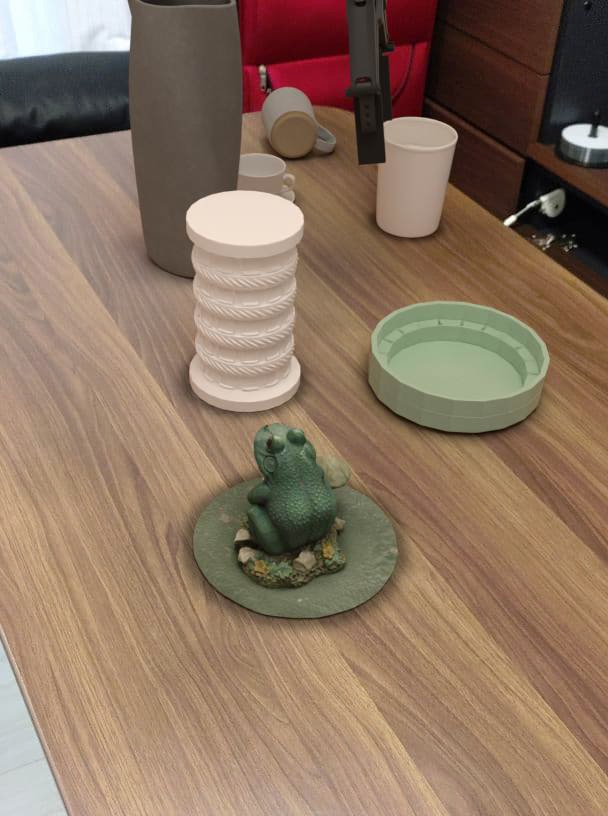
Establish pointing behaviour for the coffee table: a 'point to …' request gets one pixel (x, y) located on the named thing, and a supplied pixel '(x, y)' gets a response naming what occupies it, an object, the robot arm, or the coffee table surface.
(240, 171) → the teacup
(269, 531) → the frog figurine
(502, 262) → the coffee table surface
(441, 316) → the bowl
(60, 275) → the coffee table surface
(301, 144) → the ceramic mug
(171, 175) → the vase
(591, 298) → the coffee table surface
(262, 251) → the decorative container
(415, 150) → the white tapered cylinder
